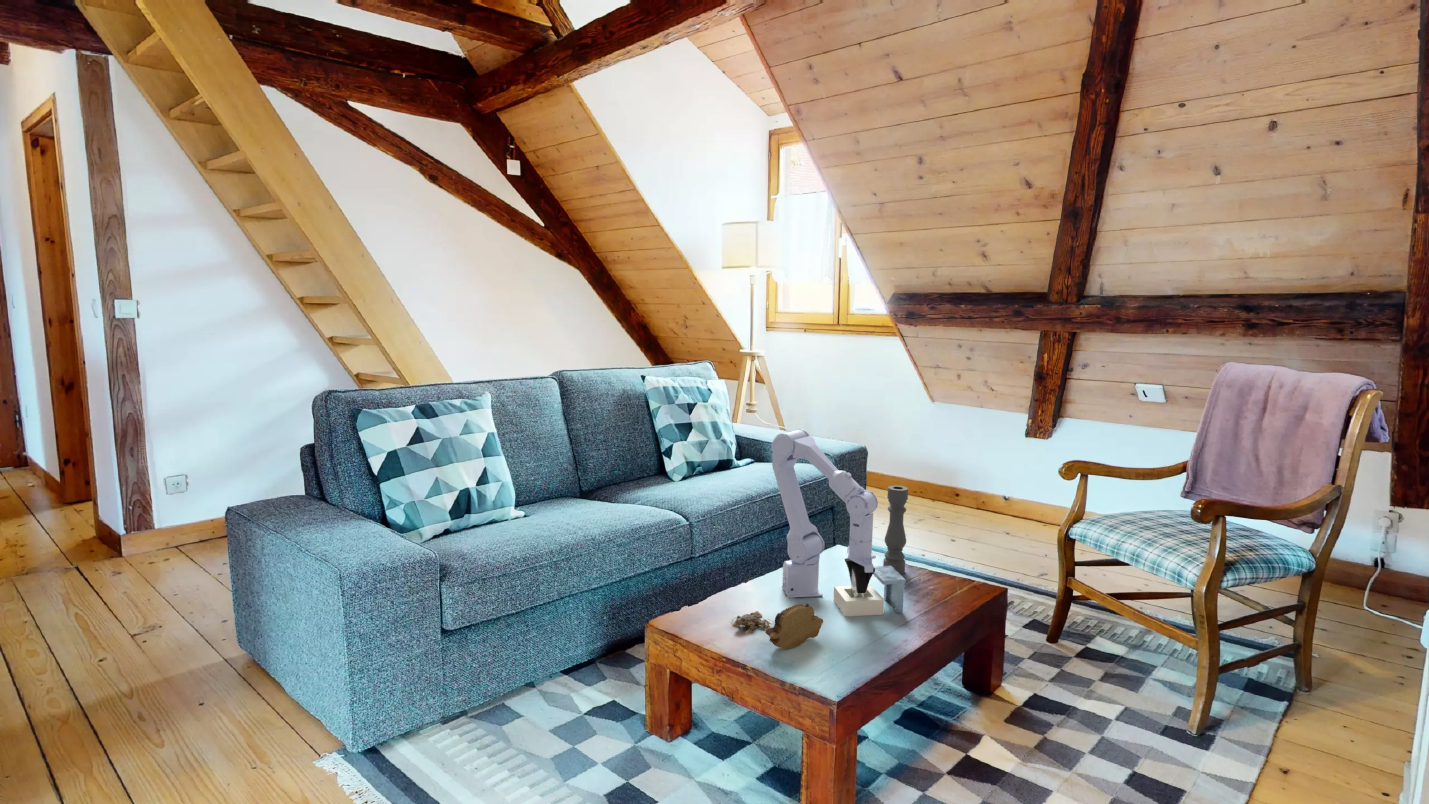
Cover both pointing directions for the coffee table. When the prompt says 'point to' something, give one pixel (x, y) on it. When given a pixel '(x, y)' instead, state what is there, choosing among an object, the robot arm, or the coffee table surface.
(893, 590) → the grey arch block
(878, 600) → the socket block
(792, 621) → the wooden carving
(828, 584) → the coffee table surface
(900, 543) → the candle holder
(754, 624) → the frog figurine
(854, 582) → the peg
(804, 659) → the coffee table surface
